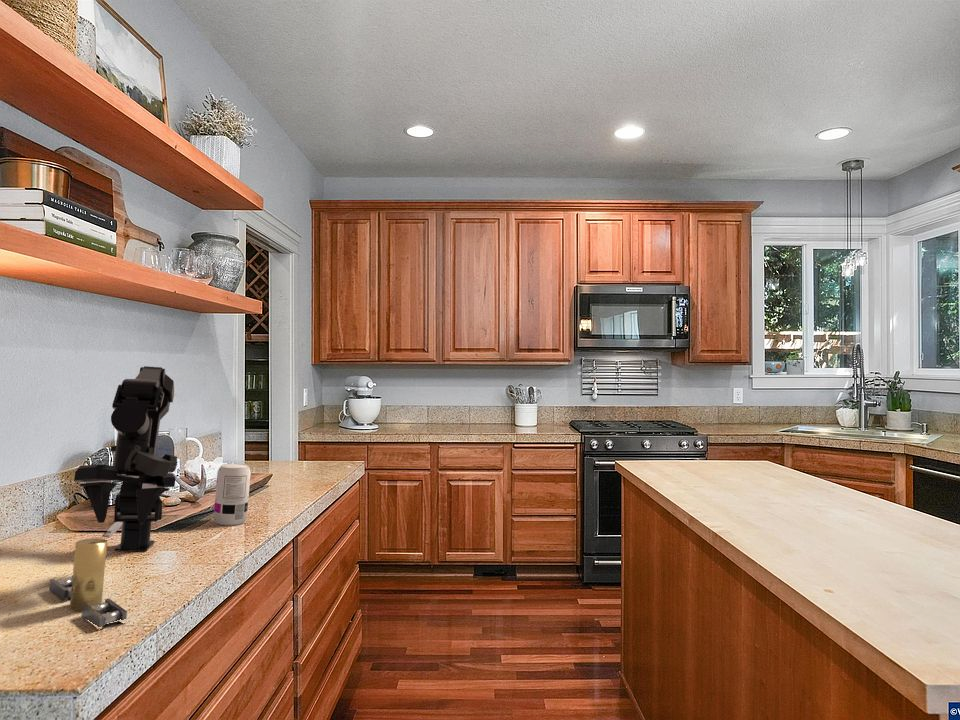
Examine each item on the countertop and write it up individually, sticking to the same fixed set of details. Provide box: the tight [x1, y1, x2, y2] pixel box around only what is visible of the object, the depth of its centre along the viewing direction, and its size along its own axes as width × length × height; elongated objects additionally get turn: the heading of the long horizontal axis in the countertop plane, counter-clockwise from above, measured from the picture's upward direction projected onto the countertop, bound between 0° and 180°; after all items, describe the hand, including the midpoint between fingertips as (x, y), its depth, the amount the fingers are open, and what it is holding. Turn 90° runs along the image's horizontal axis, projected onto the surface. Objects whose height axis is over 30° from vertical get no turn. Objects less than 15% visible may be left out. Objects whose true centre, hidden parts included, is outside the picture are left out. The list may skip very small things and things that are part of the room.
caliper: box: [103, 522, 122, 538], centre depth 152 cm, size 20×1×6 cm, turn 10°
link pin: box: [69, 537, 108, 613], centre depth 105 cm, size 5×5×11 cm
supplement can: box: [213, 462, 252, 526], centre depth 162 cm, size 8×8×15 cm
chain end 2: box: [81, 598, 128, 627], centre depth 100 cm, size 7×4×2 cm, turn 52°
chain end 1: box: [48, 574, 73, 603], centre depth 109 cm, size 7×4×2 cm, turn 52°
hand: (122, 523), depth 116 cm, fingers open, 9 cm apart
